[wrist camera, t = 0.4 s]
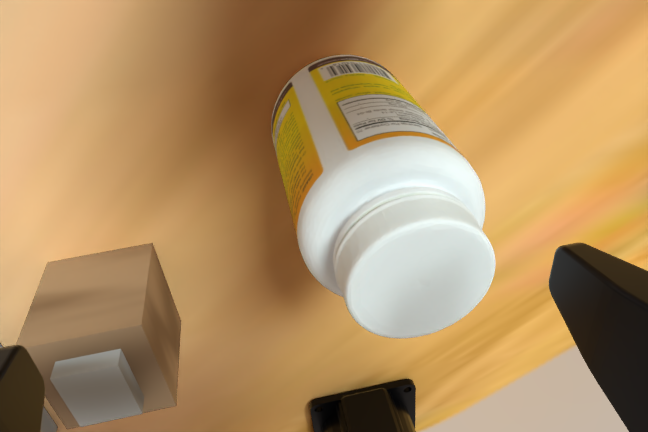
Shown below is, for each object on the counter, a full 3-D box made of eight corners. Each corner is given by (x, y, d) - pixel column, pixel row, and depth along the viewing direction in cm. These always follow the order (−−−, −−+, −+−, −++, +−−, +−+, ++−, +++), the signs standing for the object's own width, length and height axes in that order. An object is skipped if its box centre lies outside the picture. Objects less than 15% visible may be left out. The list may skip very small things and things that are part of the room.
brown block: (181, 320, 26) (175, 422, 21) (88, 338, 26) (62, 447, 21) (152, 242, 23) (139, 341, 19) (47, 261, 23) (7, 367, 18)
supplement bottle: (315, 198, 23) (375, 388, 15) (241, 102, 20) (266, 275, 12) (424, 131, 22) (552, 294, 14) (365, 19, 19) (485, 146, 11)
